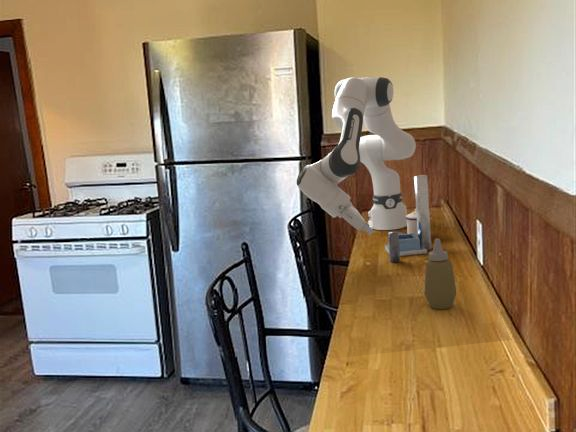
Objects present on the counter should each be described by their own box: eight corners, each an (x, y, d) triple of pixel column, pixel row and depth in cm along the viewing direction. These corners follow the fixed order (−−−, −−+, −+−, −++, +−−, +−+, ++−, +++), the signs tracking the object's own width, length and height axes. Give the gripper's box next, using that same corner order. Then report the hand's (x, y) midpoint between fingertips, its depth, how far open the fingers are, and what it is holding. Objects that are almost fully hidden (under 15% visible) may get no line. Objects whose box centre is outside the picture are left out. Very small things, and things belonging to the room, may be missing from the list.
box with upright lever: (381, 244, 224) (376, 175, 219) (422, 240, 224) (418, 171, 219) (391, 256, 206) (385, 182, 201) (435, 252, 206) (431, 177, 201)
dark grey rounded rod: (389, 260, 202) (387, 231, 200) (399, 259, 202) (397, 230, 200) (391, 263, 198) (388, 233, 196) (401, 262, 198) (399, 232, 196)
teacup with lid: (432, 240, 222) (430, 210, 219) (407, 242, 224) (405, 211, 221) (431, 233, 233) (429, 204, 231) (407, 234, 235) (405, 205, 233)
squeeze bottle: (426, 312, 151) (422, 243, 148) (424, 301, 159) (419, 236, 156) (459, 310, 150) (455, 241, 147) (455, 300, 158) (451, 234, 155)
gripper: (348, 201, 185) (381, 229, 187) (341, 192, 206) (371, 217, 207) (334, 217, 186) (368, 244, 188) (329, 206, 206) (359, 230, 208)
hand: (370, 230), depth 198 cm, fingers open, 8 cm apart
